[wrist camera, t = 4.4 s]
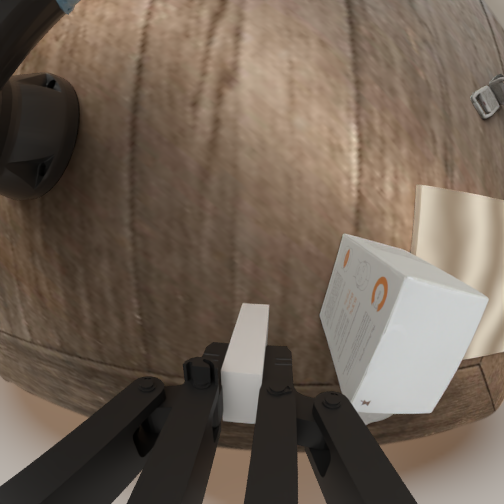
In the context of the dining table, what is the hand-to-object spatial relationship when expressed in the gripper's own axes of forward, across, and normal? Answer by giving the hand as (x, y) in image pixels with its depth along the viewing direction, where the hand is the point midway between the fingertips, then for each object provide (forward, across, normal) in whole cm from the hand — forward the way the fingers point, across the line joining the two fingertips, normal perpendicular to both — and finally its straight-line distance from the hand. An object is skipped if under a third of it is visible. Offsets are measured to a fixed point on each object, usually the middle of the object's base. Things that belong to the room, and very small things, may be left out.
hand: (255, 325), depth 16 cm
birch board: (+9, +24, 0) cm, 25 cm away
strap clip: (+10, +25, +21) cm, 34 cm away
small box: (+10, +9, 0) cm, 13 cm away
